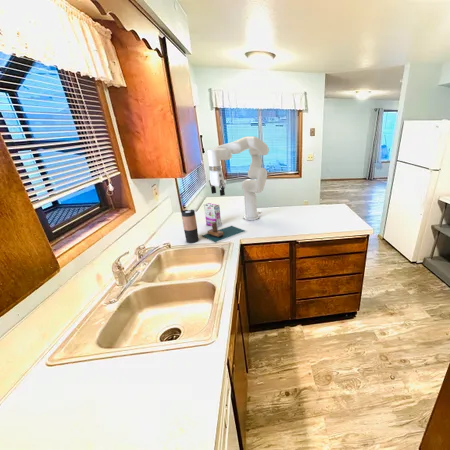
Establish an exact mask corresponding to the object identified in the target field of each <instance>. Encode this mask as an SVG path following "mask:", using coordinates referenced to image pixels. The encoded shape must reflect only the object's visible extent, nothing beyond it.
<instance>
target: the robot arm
mask: <svg viewBox="0 0 450 450" xmlns="http://www.w3.org/2000/svg"><path fill="white" fill-rule="evenodd" d="M246 150H248V152H249V155H250V159H251V161H250V165H249V168H248V170H247V177H248V178H249V179H247V178H246V179H244V180H243V181H242V183H241V188H242V192H243V200H244V216H243V219H244V220H246V221H254V220H258V219H260V214H262V211H261V210H260V211H258V206H257V204H258V203H257V195H256V194H261V193H262V192H263V191H264V188H265V185H266V182H267V178H268V171H267V169H266V168H265V167H262V165H263V161H262V158H261V156H266V155H268V154H269V152H270V151H269V150H270V149H269V146H268V144H267V143H265V142H264V141H263V140H262V139H260V138H259V137H257V136H250V135H249V136H243V137H241V138H238V139H235V140H234V141H231V142H226V143H223V144H220V145H217V146H215V147H214V148H208V149H207V152H206V153H207V161H208V169H209V170H208V171H209V180H208V184H209V186H210V189H211V194H213V195H214V194H217V187H218V188H219V195H220V197H222V196H223V197H224V196H225V195H226V194H225V189H226V182H225V178H224V173H223V170H222V161H229V160H230V159H231V158H232V156H233V155H237V154H241V153H243V152H245V151H246Z"/></svg>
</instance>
